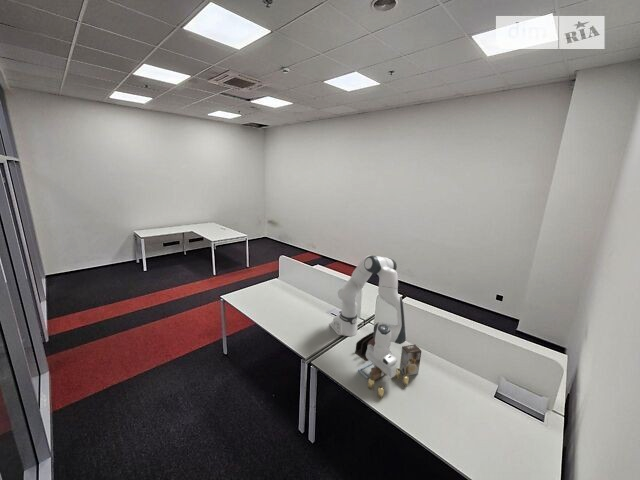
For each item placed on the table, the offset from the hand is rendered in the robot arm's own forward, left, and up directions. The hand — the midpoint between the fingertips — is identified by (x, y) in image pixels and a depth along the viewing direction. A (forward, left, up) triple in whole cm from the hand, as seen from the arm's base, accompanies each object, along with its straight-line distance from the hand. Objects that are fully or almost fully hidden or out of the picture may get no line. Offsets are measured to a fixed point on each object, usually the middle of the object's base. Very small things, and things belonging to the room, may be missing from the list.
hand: (378, 373), depth 153 cm
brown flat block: (0, 0, -2) cm, 2 cm away
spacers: (+6, 0, -3) cm, 7 cm away
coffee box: (+7, +19, -3) cm, 20 cm away
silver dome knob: (-3, 0, -3) cm, 4 cm away
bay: (-6, 0, -3) cm, 7 cm away
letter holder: (-19, +13, -3) cm, 23 cm away
